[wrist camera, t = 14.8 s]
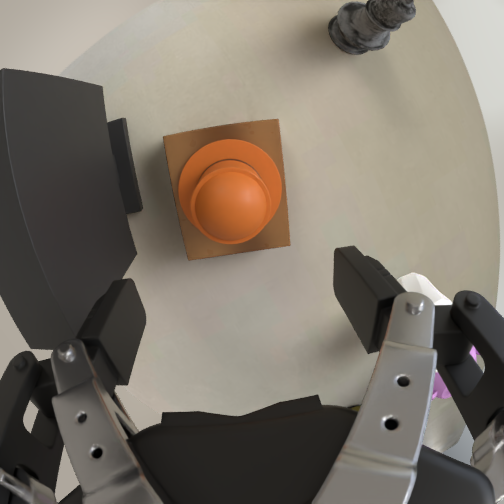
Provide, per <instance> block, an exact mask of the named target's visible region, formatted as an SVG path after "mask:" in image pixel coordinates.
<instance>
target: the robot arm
mask: <svg viewBox="0 0 504 504" xmlns="http://www.w3.org/2000/svg"><path fill="white" fill-rule="evenodd" d="M333 287H334V292H335V296H336V298H337V300H338V301H339V303H340V305H341V307H342V308H343V310H344V312H345V314H346V315H347V317H348V319H349V321H350V322H351V324H352V326H353V328H354V330H355V331H356V333H357V335H358V337H359V338H360V340H361V342H362V344H363V346H364V348H365V349H366V351H367V353H368V354H370V353H373V352H377V351H379V352H380V353H379V356H378V359H377V362H376V365H375V368H374V371H373V374H372V377H371V380H370V383H369V386H368V388H367V391H366V394H365V396H364V399H363V402H362V404H361V407H360V409H359V412H358V411H356V410H353V409H350V408H346V407H341V406H335V405H321V402H320V399H319V396H318V395H314V396H309V397H305V398H300V399H295V400H289V401H284V402H279V403H276V404H274V405H271V406H268V407H266V408H263V409H260V410H257V411H255V412H252V413H249V414H246V415H243V416H228V415H220V414H213V413H206V412H200V411H194V412H162V420H161V423H159V424H156V425H153V426H150V427H148V428H146V429H143V430H142V431H140V432H139V430H138V429H137V427H136V426H135V424H134V423H133V421H132V420H131V418H130V416H129V414H128V413H127V411H126V409H125V407H124V406H123V404H122V402H121V400H120V398H119V397H118V395H117V393H116V392H115V391H114V390H115V387H116V385H128V383H129V379H130V375H131V372H132V368H133V365H134V361H135V358H136V354H137V351H138V348H139V345H140V341H141V338H142V335H143V332H144V329H145V325H146V313H145V310H144V307H143V304H142V302H141V299H140V297H139V294H138V291H137V289H136V286H135V283H134V281H133V280H132V279H131V278H128V279H121V280H114V281H113V282H112V284H111V285H110V287H109V288H108V290H107V292H106V293H105V294H103V295H102V296H101V297H100V298H99V299H98V300H97V301H96V302H95V304H94V306H93V307H92V309H91V311H90V312H89V314H88V316H87V318H86V319H85V321H84V323H83V325H82V326H81V328H80V330H79V332H78V334H77V336H76V337H75V339H68V340H66V341H64V342H62V343H60V344H59V345H58V346H57V347H56V348H55V349H54V350H53V352H52V354H51V358H50V359H46V360H42V361H38V360H37V359H36V357H35V356H34V354H33V353H32V352H30V351H24V352H21V353H19V354H17V355H16V356H15V357H14V358H13V359H12V360H11V361H10V363H9V365H8V367H7V369H6V371H5V372H4V374H3V376H2V378H1V380H0V504H497V503H498V502H499V501H501V500H502V499H503V498H504V318H503V317H502V316H501V315H500V314H499V313H498V312H497V310H496V309H495V308H494V307H493V306H492V305H491V304H490V303H489V302H488V301H487V300H486V299H485V298H484V297H483V296H481V295H480V294H478V293H476V292H473V291H467V290H465V291H460V292H458V293H457V294H456V295H455V297H454V300H453V303H452V305H434V303H433V302H432V300H431V299H430V298H428V297H427V296H425V295H423V294H421V293H417V292H407V291H406V290H405V289H404V288H403V287H402V285H401V284H400V283H399V282H398V281H397V280H396V279H395V278H394V277H393V276H392V275H390V273H389V272H388V271H387V270H386V269H385V267H384V266H383V265H382V264H381V263H380V262H379V261H377V260H375V259H373V258H371V257H369V256H364V255H363V254H362V253H361V252H360V251H359V250H358V249H357V248H356V247H355V246H348V247H341V248H336V249H335V251H334V276H333ZM473 346H474V347H475V349H476V350H477V351H478V353H479V354H480V355H481V357H482V358H483V360H484V363H485V371H484V373H483V372H482V370H481V369H480V367H479V366H478V364H477V363H476V361H475V360H474V358H473V357H472V356H471V354H470V351H471V349H472V347H473ZM436 370H437V371H438V373H439V375H440V377H441V378H442V380H443V382H444V383H445V385H446V387H447V389H448V391H449V392H450V394H451V396H452V398H453V400H454V401H455V403H456V405H457V407H458V409H459V411H460V413H461V415H462V417H463V419H464V421H465V423H466V425H467V427H468V428H469V431H470V433H471V435H472V437H473V439H474V444H473V447H472V456H471V459H470V463H471V466H470V465H468V464H465V463H463V462H460V461H458V460H456V459H453V458H451V457H449V456H446V455H444V454H442V453H440V452H437V451H435V450H433V449H431V448H429V447H427V446H425V445H422V442H423V438H424V434H425V430H426V425H427V421H428V416H429V411H430V405H431V400H432V393H433V387H434V379H435V371H436ZM29 400H31V402H32V403H33V404H34V405H35V406H36V407H37V408H38V409H39V410H38V413H37V416H36V419H35V422H34V425H33V428H32V431H31V433H29V432H28V431H27V430H26V428H25V426H24V424H23V416H24V413H25V411H26V408H27V405H28V403H29ZM64 445H65V447H66V451H67V453H68V456H69V458H70V461H71V464H72V467H73V469H74V472H75V473H76V476H77V479H78V481H79V483H80V485H78V486H77V487H76V488H75V489H74V490H73V491H72V492H71V493H69V494H68V495H67V496H66V497H65V498H63V499H62V500H61V501H60V502H59V503H58V502H56V498H55V488H56V482H57V476H58V471H59V465H60V461H61V456H62V451H63V447H64Z"/></svg>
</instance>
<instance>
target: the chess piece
mask: <svg viewBox="0 0 504 504" xmlns="http://www.w3.org/2000/svg"><path fill="white" fill-rule="evenodd" d="M415 15H416V9H415V6H414V1H413V0H369V1H367V3H366V4H365V3H361V2H349V3H346V4H344V5H343V6H342V7H341V8H340V10H339V11H338V15H337V16H335V17H334V18H332V19H331V21H330V23H329V27H328V29H329V34H330V37H331V39H332V40H333V42H334V43H335V44H336V45H337V46H338V47H339V48H340V49H342V50H344V51H345V52H348V53H350V54H363V53H365V52H367V51H368V50H371V51H373V50H379V49H382V48H384V47H385V46H386V45H387V44H388V42H389V40H390V31H396V30H398V29H399V28H400V26H401V24H402V23H404V22H406V21H409V20H411V19H412V18H414V17H415Z"/></svg>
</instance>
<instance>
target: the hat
mask: <svg viewBox="0 0 504 504" xmlns="http://www.w3.org/2000/svg"><path fill="white" fill-rule="evenodd" d="M281 194H282V183H281V178H280V174H279V171H278V169H277V167H276V165H275V163H274V162H273V160H272V159H271V158H270V157H269V156H268V154H267V153H265V152H264V151H263V150H262V149H260V148H259V147H257V146H256V145H253V144H251V143H249V142H246V141H243V140H236V139H225V140H219V141H215V142H212V143H210V144H207V145H206V146H204V147H202V148H201V149H199V150H198V151H197V152H196V153H194V154H193V155H192V156H191V158H190V159H189V160H188V161H187V163H186V165H185V166H184V168H183V170H182V173H181V176H180V179H179V186H178V195H179V201H180V204H181V207H182V209H183V212H184V214H185V215H186V217H187V218H188V220H189V221H190V222H191V223H192V224H193V225H194V226H195V227H196V228H197V229H199V230H200V232H201V233H203V234H204V235H205V236H206V237H208V238H209V239H211V240H213V241H215V242H218V243H222V244H238V243H243V242H245V241H248V240H250V239H252V238H253V237H255V236H256V235H257V234H258V233H260V231H261V230H262V229H263V228H264V226H265V225H266V224H267V223H268V222H269V221H270V220H271V219H272V217H273V216H274V215H275V213H276V211H277V209H278V206H279V204H280V200H281Z"/></svg>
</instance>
